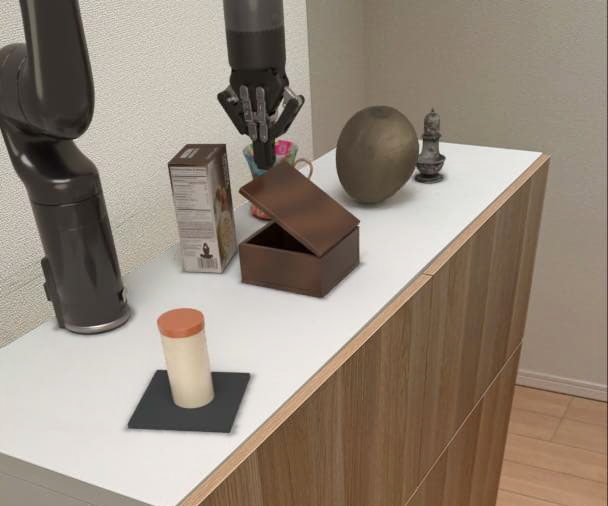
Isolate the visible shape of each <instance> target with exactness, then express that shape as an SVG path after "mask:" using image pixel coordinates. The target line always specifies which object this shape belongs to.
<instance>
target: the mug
mask: <svg viewBox="0 0 608 506" xmlns="http://www.w3.org/2000/svg"><path fill="white" fill-rule="evenodd" d="M275 150H276V162H275V164H274V165H273V167H274V166H276V165H277V164H279V163H280V162H282V161H284V160H286V161H287V162H288V163H289V164H291V165H292V166H293V167H294V168H296V165H297V164H298V163H300V162H305V163H306V164H308V166H309V174H308V176H307V178H308V179H309V180H310V181H311V178H312V176H313V173H314V165H313V163H312V161H311V160H310V159H309V158H306V157H300V158H298V159H296V158H297V157H296V156H297V153H298V152H299V146H298V144H297V143H295V142H293V141H290V140H285V139H275ZM242 155H243V156H244V158H245V160H246V163H247V165H248V168H249V171H250V174H251V180H253V179H255V178H256V177H258V176H260V175H261V174H263V173H264V172H266V171H268V170H260V169H258V168H257V165H256V164H255V162H254V156H253V144H252V143H249V144H247V145H245V146H244V147H243V148H242ZM250 213H252V215H254V216H255V217H258V218H261V219H266V220H267V219H269V220H272V219H271V218H270V217H268V216H267V215H266V214H265V213H263V212H262V211H261V210H260V209H258V208H257V207H256V206H255V205H253V204H252V203H251V205H250Z"/></svg>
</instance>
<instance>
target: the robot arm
mask: <svg viewBox="0 0 608 506" xmlns="http://www.w3.org/2000/svg"><path fill="white" fill-rule="evenodd" d="M18 4H19V8H20V13H21V20H22V27H23V35H24V42H14V43H13V42H12V43H8V44H5V45H4V46H2V47H1V48H0V133H1V136H2V139H3V142H4V145H5V148H6V151H7V154H8V157H9V160H10V163H11V166H12V168H13V171H14V172H15V173H16V176H17V177H18V178H19V180H20V182H22V184H23V186H24V188H25V190H26V194H27V197H28V200H29V204H30V207H31V211H32V215H33V218H34V222H35V225H36V228H37V232H38V235H39V239H40V243H41V245H42V249H43V253H44V256H43V257H42V258H41V260H40V266H41V269H42V274H43V276H44V280H45V282H44V283H43V284H42V286H43V289H44V293H45V297H46V300H47V302H51V304H52V308H53V310H54V314H55V318H56V322H57V326H58V327H59V328H66V329H67V330H68V331H70V332H74V333H78V334H96V333H102V332H106V331H111V330H113V329H116V328H119V326H122V325H123V324H124V323H125V322H127V321H128V319H129V318H130V316H131V310H130V309H131V308H130V305H129V304H128V297H127V296H128V292H129V290H128V287H127V282H125V283H124V279H123V276H122V271H121V268H120V267H121V266H120V263H119V258H118V255H117V249H116V244H115V239H114V235H113V231H112V226H111V221H110V217H109V213H108V212H109V211H108V209H107V208H108V207H107V203H106V199H105V194H104V190H103V185H102V181H101V176H100V172H99V169H98V167H97V165H96V164H95V162H93V160H91V159H90V158H89V157H88V156H87V155H86V154H84V153H83V152H82V150H81V149H80V148H79V147H78V146H77V144H76V142H75V141H74V140H76V139H79V138H80V137H82V136H83V135H85V133H86V132H87V131H88V129H89V128H90V126H91V124H92V121H93V118H94V114H95V106H96V90H95V81H94V73H93V69H92V64H91V59H90V53H89V48H88V43H87V37H86V34H85V28H84V22H83V18H82V12H81V5H80V2H79V0H18ZM222 9H223V20H224V29H225V30H224V32H225V41H226V51H227V60H228V61H227V62H228V66H229V67H230V74H229V78H228V79H229V80H228V81H229V84H228V85H227V87H225V89H224V90H222V91H220V92H218V93H217V94H216V99H217V102H218V103H219V104H220V106H221V108H222V109H223V111H224V112H225V114H226V115H227V117H228V118H229V119H230V121H231V122H232V124H233V126H234V127H235V129H236V130H237V132H238V133H239V135H241V136H244V135H245V136H247V137H249V139H250V140H251V144H253V156H254V162H255V164H256V165H257V168H258V169H260V170H269V169H271V168H272V167H273V165H274V164H275V162H276V150H275V140H277V139H278V138H279V137H282V136H283V135H285V134H286V133H287V132H288V130H289V129H290V127H291V126H292V124H293V122H294V121H295V120H296V117H297V116H298V114H299V112H300V111H301V109H302V108H303V106H304V105H305V103H306V99H305V96H304V95H303V94H296V92H295V91H294V90H293V89H292V88H291V87H290V80H289V77H288V75H287V71H286V66H287V65H286V64H287V49H286V47H287V46H286V31H285V29H286V28H285V14H284V13H285V12H284V10H285V9H284V0H222ZM281 103H282V105H281ZM280 105H281V106H282V108H283V110H281V113H280V115H279V107H280Z"/></svg>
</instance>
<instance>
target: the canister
mask: <svg viewBox="0 0 608 506" xmlns="http://www.w3.org/2000/svg"><path fill="white" fill-rule="evenodd" d="M156 325H157V329H158V333H159V336H160V340H161V347H162V350H163V356H164V361H165V368H166V370H167V372H168V377H169V383H170V388H171V393H172V398H173V402H174V403H175V404H176V405H177V406H179V407H183V408H198V407H202V406H204V405H206V404H208V403H210V402H211V401H212V400H213V398H214V395H215V394H214V387H213V381H212V374H211V372H212V368H211V361H210V355H209V349H208V341H207V334H206V327H205V326H206V322H205V315H204V313H203V312H202V311H201V310H198V309H196V308H190V307H180V308H174V309H169V310H167V311H165V312H163V313H161V314H160V315H159V316H158V318H157V319H156Z"/></svg>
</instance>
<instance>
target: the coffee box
mask: <svg viewBox="0 0 608 506" xmlns="http://www.w3.org/2000/svg"><path fill="white" fill-rule="evenodd" d="M166 164H167V170H168V176H169V177H168V178H169V181H170V188H171V195H172V200H173V206H174V207H173V208H174V212H175V219H176V225H177V231H178V237H179V244H180V249H181V256H182V261H183V269H184V271H185V272H188V273H191V272H192V273H193V272H194V273H216V274H222V273H224V271H225V269H227V267H228V265H229V263H230V262H231V260H232V258H233V257H234V255H236V252H237V251H238V239H237V231H236V222H235V213H234V204H233V196H232V188H231V187H232V186H231V180H230V178H231V177H230V168H229V160H228V151H227V143H186V144H185V145H184V146H183V147H182V148H181V149H180V150H179V151H178V152H177V153H176V154H175V155H174V156H173V157H172V158H171V159H170V160H169V161H168V162H167V163H166Z"/></svg>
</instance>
